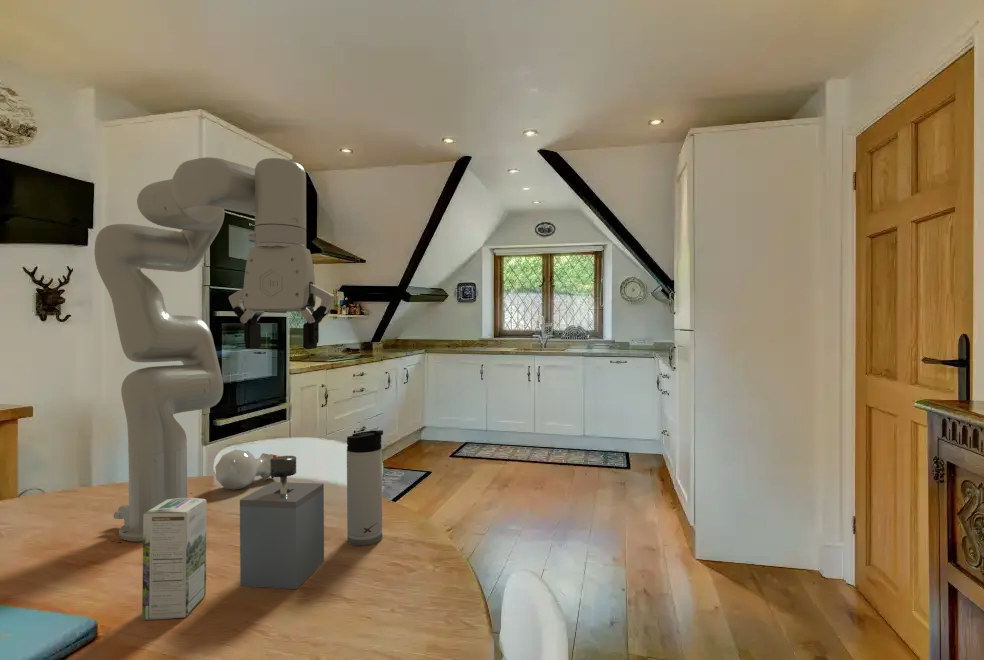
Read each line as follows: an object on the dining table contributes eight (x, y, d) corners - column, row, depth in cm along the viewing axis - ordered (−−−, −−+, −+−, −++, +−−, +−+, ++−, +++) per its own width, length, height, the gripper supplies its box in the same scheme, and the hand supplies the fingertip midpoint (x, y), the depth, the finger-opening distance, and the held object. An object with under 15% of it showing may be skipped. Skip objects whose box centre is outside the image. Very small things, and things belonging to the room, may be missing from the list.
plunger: (257, 560, 78) (256, 462, 78) (277, 544, 84) (276, 453, 84) (291, 562, 78) (290, 463, 78) (309, 546, 83) (308, 454, 83)
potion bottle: (211, 499, 120) (268, 490, 133) (233, 480, 117) (289, 472, 130) (202, 464, 124) (258, 458, 137) (223, 444, 120) (279, 439, 133)
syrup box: (165, 598, 73) (164, 498, 73) (207, 596, 74) (207, 496, 74) (141, 621, 68) (140, 512, 68) (187, 618, 68) (186, 510, 68)
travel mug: (375, 548, 90) (374, 434, 90) (341, 545, 91) (340, 433, 91) (389, 533, 96) (388, 427, 96) (357, 531, 97) (356, 426, 97)
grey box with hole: (240, 585, 77) (239, 499, 77) (273, 559, 86) (272, 481, 86) (296, 589, 76) (295, 501, 76) (324, 561, 85) (323, 483, 85)
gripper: (215, 237, 78) (215, 349, 78) (321, 235, 76) (322, 349, 76) (245, 245, 86) (245, 347, 86) (343, 243, 83) (343, 347, 83)
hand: (281, 348), depth 81 cm, fingers open, 9 cm apart
